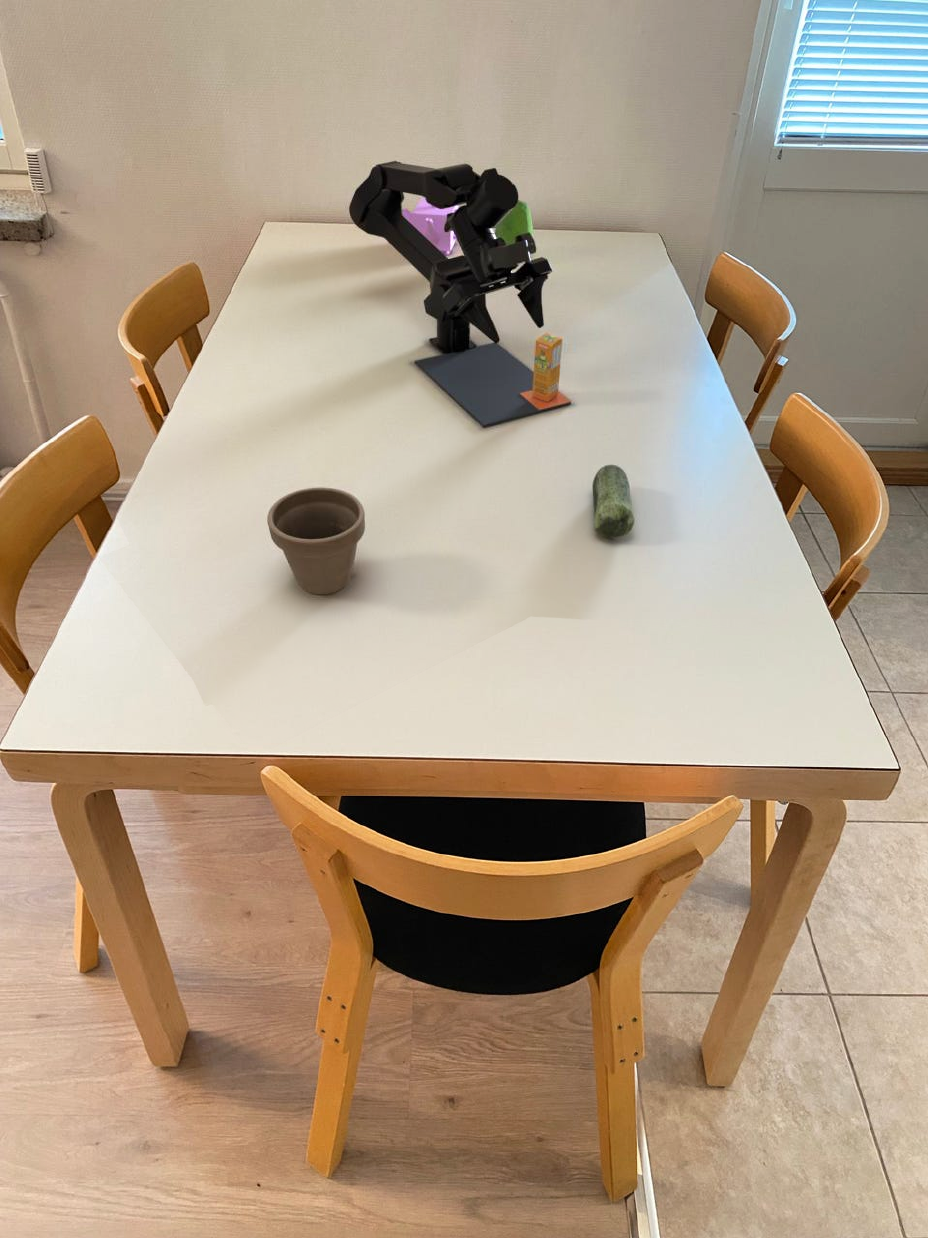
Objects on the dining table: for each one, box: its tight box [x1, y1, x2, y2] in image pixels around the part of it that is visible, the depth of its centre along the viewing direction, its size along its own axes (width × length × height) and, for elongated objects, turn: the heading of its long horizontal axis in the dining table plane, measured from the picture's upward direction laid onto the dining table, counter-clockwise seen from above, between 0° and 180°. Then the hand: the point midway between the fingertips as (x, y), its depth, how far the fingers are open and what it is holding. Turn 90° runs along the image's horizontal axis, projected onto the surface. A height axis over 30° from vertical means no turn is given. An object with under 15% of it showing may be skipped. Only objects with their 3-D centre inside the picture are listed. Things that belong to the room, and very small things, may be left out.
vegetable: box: [592, 464, 635, 539], centre depth 130 cm, size 14×5×5 cm, turn 176°
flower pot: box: [266, 486, 366, 595], centre depth 117 cm, size 12×11×10 cm
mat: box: [414, 342, 572, 428], centre depth 159 cm, size 24×16×1 cm, turn 29°
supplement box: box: [532, 332, 563, 402], centre depth 152 cm, size 3×3×10 cm
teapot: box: [402, 197, 459, 255], centre depth 201 cm, size 18×13×10 cm
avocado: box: [494, 199, 534, 245], centre depth 196 cm, size 8×8×12 cm
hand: (519, 334), depth 154 cm, fingers open, 9 cm apart
